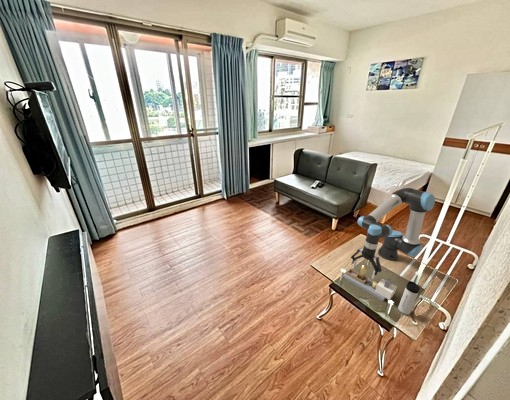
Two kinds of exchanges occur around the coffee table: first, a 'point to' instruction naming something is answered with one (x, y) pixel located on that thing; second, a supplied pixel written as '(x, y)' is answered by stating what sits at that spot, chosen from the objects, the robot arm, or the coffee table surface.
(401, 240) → the robot arm
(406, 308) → the travel mug
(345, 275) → the board
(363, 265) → the brass pin
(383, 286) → the cover
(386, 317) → the coffee table surface
